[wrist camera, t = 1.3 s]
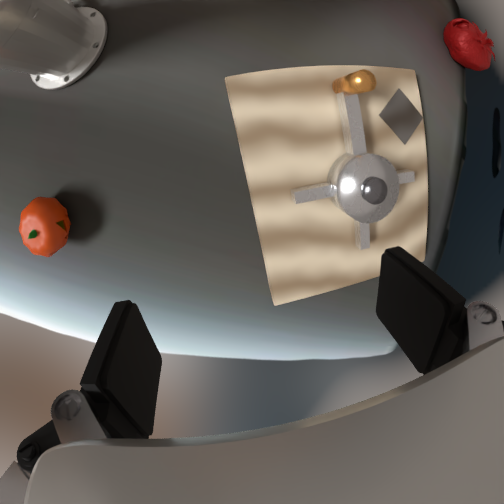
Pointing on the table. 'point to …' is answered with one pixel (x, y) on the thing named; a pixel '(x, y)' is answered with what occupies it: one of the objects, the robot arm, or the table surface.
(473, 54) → the pomegranate
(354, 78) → the cylinder
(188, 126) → the table surface
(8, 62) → the robot arm
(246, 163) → the wooden board
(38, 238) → the pumpkin
